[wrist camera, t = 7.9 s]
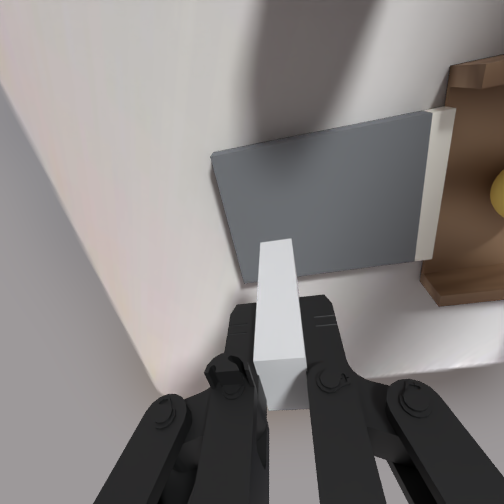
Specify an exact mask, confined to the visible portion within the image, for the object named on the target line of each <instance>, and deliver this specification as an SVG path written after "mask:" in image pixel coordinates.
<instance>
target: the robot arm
mask: <svg viewBox="0 0 504 504" xmlns="http://www.w3.org/2000/svg"><path fill="white" fill-rule="evenodd" d="M204 374H205V376H206V378H207V380H208V382H209V384H210V386H211V387H210V388H208V389H207V390H205V391H203V392H201V393H199V394H196V395H194V396H191V397H189V398H186V399H183V398H182V397H181V396H179V395H177V394H167V395H165V396H162V397H160V398H159V399H157V400H156V401H155V402H153V403H152V405H151V406H150V407H149V408H148V410H147V411H146V412H145V414H144V416H143V418H142V419H141V421H140V423H139V425H138V426H137V428H136V430H135V432H134V433H133V435H132V437H131V439H130V440H129V442H128V444H127V446H126V447H125V449H124V451H123V453H122V455H121V456H120V458H119V460H118V461H117V463H116V465H115V467H114V468H113V470H112V472H111V474H110V475H109V477H108V479H107V481H106V482H105V484H104V486H103V487H102V489H101V491H100V493H99V495H98V496H97V498H96V500H95V502H94V503H93V504H269V427H268V422H267V419H266V418H267V417H266V416H267V407H268V410H269V411H272V410H273V411H275V410H296V409H310V417H311V425H312V435H313V444H314V453H315V462H316V470H317V481H318V490H319V499H320V504H386V500H385V496H384V492H383V489H382V484H381V481H380V477H379V473H378V469H377V466H376V461H375V458H374V456H376V457H379V458H382V459H385V460H387V462H388V464H389V466H390V468H391V470H392V472H393V474H394V476H395V478H396V480H397V482H398V484H399V486H400V487H401V489H402V491H403V493H404V495H405V497H406V499H407V501H408V503H409V504H504V477H503V475H502V474H501V473H500V472H499V470H498V469H497V468H496V467H495V465H494V464H493V463H492V462H491V460H490V459H489V458H488V456H487V455H486V454H485V453H484V451H483V450H482V449H481V448H480V446H479V445H478V444H477V443H476V441H475V440H474V439H473V437H472V436H471V435H470V434H469V432H468V431H467V430H466V429H465V428H464V426H463V425H462V424H461V422H460V421H459V420H458V419H457V417H456V416H455V415H454V413H453V412H452V411H451V410H450V408H449V407H448V406H447V405H446V403H445V402H444V401H443V400H442V398H441V397H440V396H439V395H438V394H437V393H436V392H435V391H434V390H433V389H432V388H431V387H429V386H428V385H426V384H424V383H422V382H420V381H416V380H412V379H402V380H398V381H396V382H394V383H392V384H391V385H390V386H388V385H384V384H380V383H376V382H372V381H369V380H366V379H364V378H362V377H361V376H359V375H357V374H356V373H355V372H354V371H353V370H352V369H351V367H350V366H349V365H348V362H347V360H346V356H345V352H344V349H343V345H342V341H341V337H340V333H339V329H338V325H337V321H336V317H335V313H334V309H333V306H332V303H331V302H330V301H329V299H328V298H327V297H326V296H325V295H315V296H306V297H299V289H298V281H297V274H296V267H295V260H294V253H293V246H292V239H291V238H290V239H283V240H276V241H269V242H262V243H260V257H259V274H258V290H257V303H248V304H239V305H236V307H235V309H234V310H233V312H232V313H231V315H230V321H229V327H228V336H227V340H226V346H225V352H224V353H222V354H220V355H218V356H217V357H215V358H213V359H212V361H211V362H210V363H209V364H208V365H207V367H206V370H205V372H204Z"/></svg>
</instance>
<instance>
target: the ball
mask: <svg viewBox="0 0 504 504" xmlns="http://www.w3.org/2000/svg"><path fill="white" fill-rule="evenodd" d="M490 199H491V203H492V205H493V207H494V209H495V210H496V212H497V213H498V214H499V215H501V216H502V217H504V170H502V171H501V172H500V173H499V175H498V176H497V177H496V179H495V180H494V182H493V184H492V186H491V191H490Z"/></svg>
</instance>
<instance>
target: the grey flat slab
mask: <svg viewBox="0 0 504 504" xmlns="http://www.w3.org/2000/svg"><path fill="white" fill-rule="evenodd" d="M455 113H456V108H452V107H446V106H443V107H438V108H433V109H428V110H423V111H418V112H413V113H408V114H403V115H398V116H393V117H388V118H383V119H378V120H373V121H368V122H363V123H358V124H353V125H348V126H343V127H338V128H333V129H328V130H323V131H318V132H313V133H308V134H303V135H298V136H293V137H288V138H283V139H278V140H273V141H268V142H263V143H258V144H253V145H248V146H242V147H237V148H232V149H227V150H222V151H217V152H213V154H212V155H211V156H210V158H211V161H212V165H213V169H214V173H215V176H216V180H217V184H218V188H219V191H220V195H221V199H222V203H223V206H224V210H225V214H226V217H227V221H228V225H229V229H230V232H231V236H232V240H233V244H234V247H235V251H236V255H237V259H238V262H239V266H240V270H241V273H242V277H243V281H244V283H252V282H258V274H259V257H260V243H262V242H269V241H276V240H283V239H290V238H291V239H292V246H293V253H294V260H295V267H296V274H297V277H298V276H306V275H313V274H321V273H329V272H336V271H344V270H352V269H360V268H367V267H375V266H383V265H390V264H398V263H406V262H413V261H421V260H429V259H432V256H433V250H434V244H435V238H436V231H437V225H438V219H439V213H440V206H441V200H442V194H443V188H444V182H445V175H446V169H447V163H448V157H449V150H450V144H451V138H452V132H453V126H454V119H455Z"/></svg>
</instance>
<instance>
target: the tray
mask: <svg viewBox="0 0 504 504" xmlns="http://www.w3.org/2000/svg"><path fill="white" fill-rule="evenodd" d="M445 106H446V107H452V108H456V113H455V119H454V126H453V132H452V138H451V144H450V150H449V157H448V163H447V169H446V175H445V182H444V188H443V194H442V200H441V206H440V213H439V219H438V225H437V231H436V238H435V244H434V250H433V256H432V259H429V260H423V263H422V270H421V277H420V282H421V283H422V285H423V286H424V287H425V289H426V290H427V291H428V293H429V294H430V295H431V297H432V298H433V299H434V301H435V302H436V303H437V305H438V306H439V307H440V306H450V305H459V304H468V303H477V302H487V301H496V300H504V217H502V216H501V215H499V214H498V213H497V212H496V210H495V209H494V207H493V205H492V203H491V199H490V191H491V186H492V184H493V182H494V180H495V179H496V177H497V176H498V175H499V173H500V172H501V171H502V170H504V54H502V55H498V56H493V57H489V58H484V59H479V60H475V61H470V62H466V63H461V64H456V65H452V66H450V71H449V78H448V85H447V92H446V99H445Z"/></svg>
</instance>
